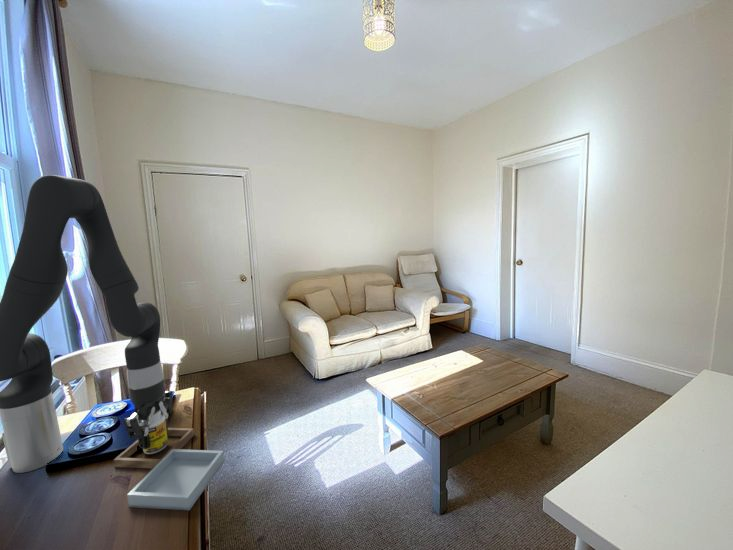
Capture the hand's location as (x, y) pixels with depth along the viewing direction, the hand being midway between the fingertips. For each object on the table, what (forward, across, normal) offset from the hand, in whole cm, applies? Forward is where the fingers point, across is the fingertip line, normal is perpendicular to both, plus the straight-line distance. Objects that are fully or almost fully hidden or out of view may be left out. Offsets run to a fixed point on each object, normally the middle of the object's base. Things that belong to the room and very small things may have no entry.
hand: (154, 439), depth 83 cm
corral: (+3, 0, 0) cm, 3 cm away
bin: (+3, +10, +14) cm, 18 cm away
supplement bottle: (+3, 0, 0) cm, 3 cm away
